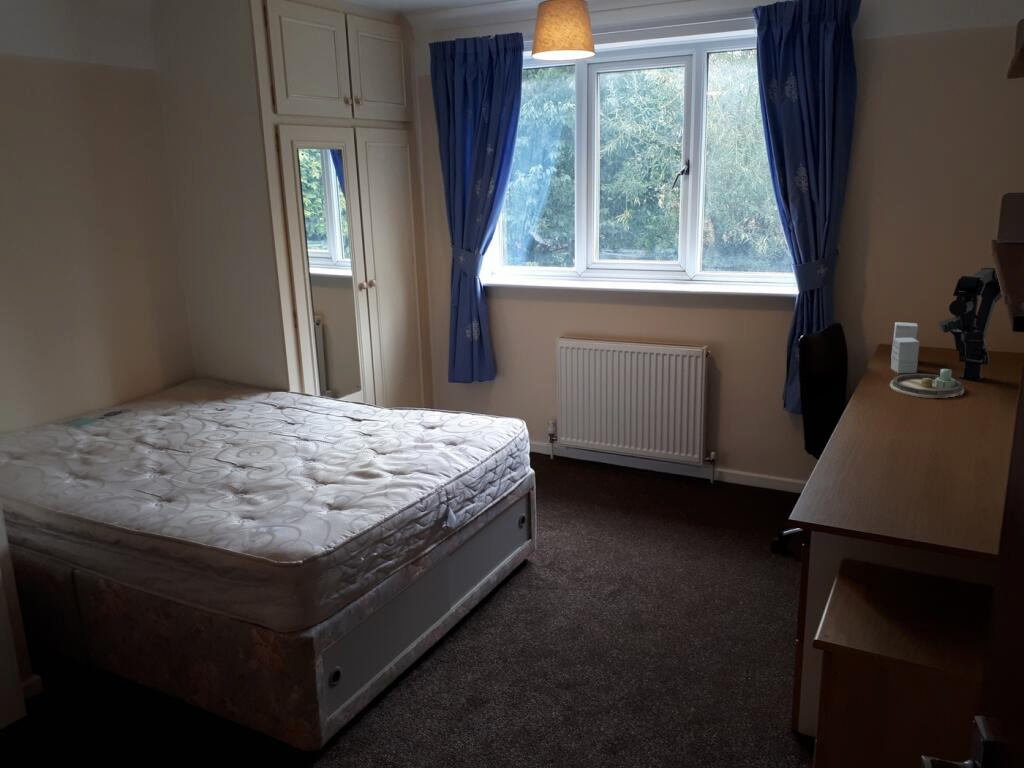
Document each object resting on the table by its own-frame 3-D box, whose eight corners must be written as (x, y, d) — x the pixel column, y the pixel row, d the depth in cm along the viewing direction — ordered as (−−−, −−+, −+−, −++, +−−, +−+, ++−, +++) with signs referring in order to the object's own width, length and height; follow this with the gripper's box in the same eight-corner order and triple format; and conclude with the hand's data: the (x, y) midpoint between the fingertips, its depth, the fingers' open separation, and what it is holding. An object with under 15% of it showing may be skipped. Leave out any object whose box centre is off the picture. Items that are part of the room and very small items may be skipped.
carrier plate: (912, 375, 303) (913, 366, 302) (977, 389, 284) (978, 379, 283) (876, 388, 291) (876, 379, 290) (941, 402, 271) (942, 393, 270)
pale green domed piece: (940, 382, 290) (942, 366, 288) (957, 386, 285) (959, 370, 284) (931, 385, 287) (933, 370, 285) (948, 389, 282) (950, 373, 280)
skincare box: (891, 362, 322) (894, 325, 318) (890, 358, 328) (894, 321, 324) (914, 363, 319) (918, 325, 315) (913, 359, 325) (917, 322, 321)
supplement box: (909, 368, 314) (912, 337, 310) (917, 373, 306) (920, 341, 303) (890, 368, 314) (892, 337, 311) (897, 373, 307) (899, 341, 304)
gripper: (934, 306, 291) (930, 347, 295) (951, 316, 273) (946, 360, 278) (967, 306, 289) (962, 347, 293) (987, 316, 271) (981, 360, 276)
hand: (962, 354), depth 285 cm, fingers open, 9 cm apart
